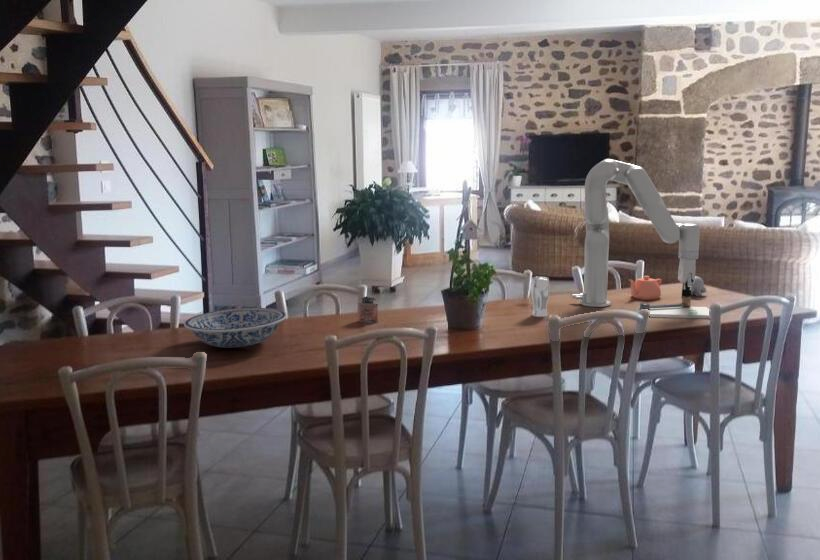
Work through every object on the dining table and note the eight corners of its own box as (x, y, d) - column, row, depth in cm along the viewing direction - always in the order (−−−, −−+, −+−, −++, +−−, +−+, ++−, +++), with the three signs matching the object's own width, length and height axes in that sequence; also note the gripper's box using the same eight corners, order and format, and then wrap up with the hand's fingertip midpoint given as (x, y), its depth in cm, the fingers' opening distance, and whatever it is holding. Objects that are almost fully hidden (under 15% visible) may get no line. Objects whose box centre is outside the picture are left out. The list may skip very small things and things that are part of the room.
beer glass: (547, 313, 300) (548, 276, 297) (549, 317, 293) (550, 279, 290) (530, 313, 300) (530, 276, 298) (531, 317, 294) (531, 279, 291)
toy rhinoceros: (678, 301, 330) (673, 284, 327) (696, 288, 335) (692, 272, 332) (691, 304, 324) (687, 287, 321) (709, 291, 329) (705, 274, 326)
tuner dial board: (645, 317, 290) (645, 314, 290) (639, 308, 306) (639, 305, 306) (716, 319, 286) (716, 316, 286) (706, 309, 302) (706, 306, 302)
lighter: (357, 321, 291) (356, 296, 289) (362, 319, 294) (361, 294, 292) (375, 323, 287) (375, 297, 285) (380, 321, 290) (379, 296, 288)
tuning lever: (642, 310, 297) (643, 300, 296) (638, 308, 300) (638, 298, 299) (692, 307, 300) (692, 297, 300) (687, 305, 304) (687, 295, 303)
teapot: (670, 298, 326) (671, 276, 324) (637, 302, 318) (638, 280, 317) (650, 293, 336) (651, 272, 335) (618, 297, 329) (619, 275, 327)
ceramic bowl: (224, 329, 281) (223, 303, 280) (305, 336, 269) (304, 309, 267) (163, 353, 250) (161, 324, 248) (252, 363, 238) (250, 332, 236)
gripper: (675, 251, 310) (672, 295, 313) (682, 257, 295) (680, 303, 299) (694, 251, 309) (691, 295, 312) (702, 257, 294) (699, 303, 298)
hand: (686, 299), depth 305 cm, fingers closed
